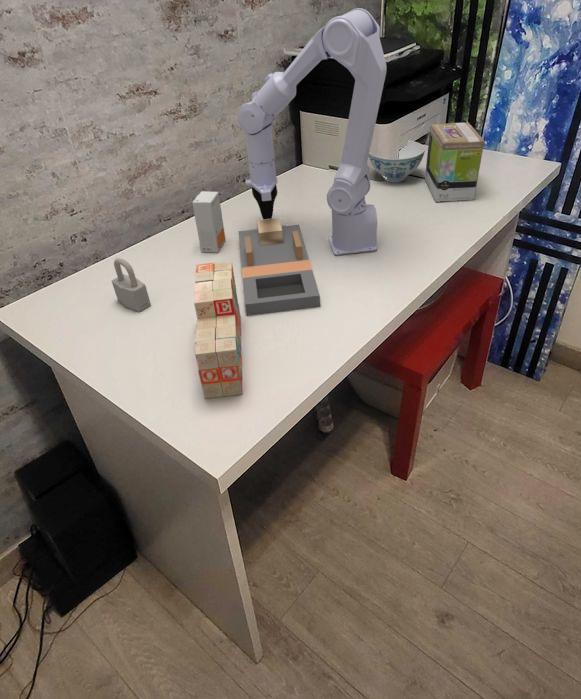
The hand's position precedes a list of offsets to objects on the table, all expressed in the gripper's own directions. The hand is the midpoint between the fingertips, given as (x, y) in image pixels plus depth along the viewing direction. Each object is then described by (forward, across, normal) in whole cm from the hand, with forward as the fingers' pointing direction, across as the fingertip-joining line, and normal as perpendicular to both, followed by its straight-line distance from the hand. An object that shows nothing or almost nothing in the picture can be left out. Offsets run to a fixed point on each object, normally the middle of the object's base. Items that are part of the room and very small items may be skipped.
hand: (267, 217), depth 123 cm
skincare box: (+4, +4, -13) cm, 14 cm away
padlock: (+4, +24, -29) cm, 38 cm away
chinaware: (+4, -24, +37) cm, 44 cm away
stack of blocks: (+4, +44, -11) cm, 45 cm away
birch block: (+1, +8, 0) cm, 8 cm away
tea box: (+4, -12, +48) cm, 50 cm away
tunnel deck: (+4, +18, 0) cm, 18 cm away
